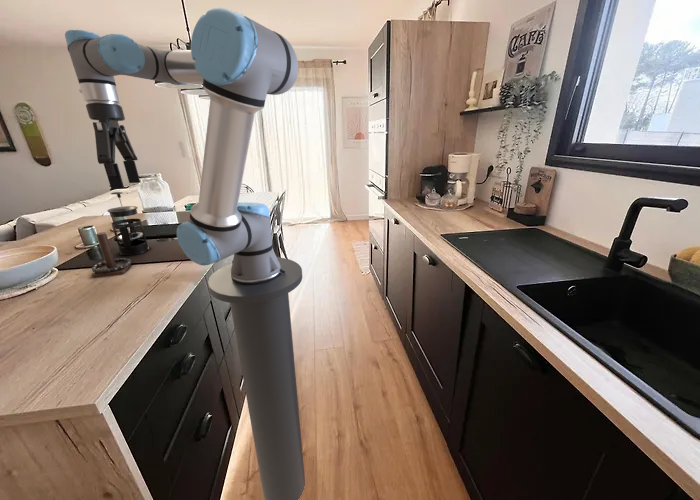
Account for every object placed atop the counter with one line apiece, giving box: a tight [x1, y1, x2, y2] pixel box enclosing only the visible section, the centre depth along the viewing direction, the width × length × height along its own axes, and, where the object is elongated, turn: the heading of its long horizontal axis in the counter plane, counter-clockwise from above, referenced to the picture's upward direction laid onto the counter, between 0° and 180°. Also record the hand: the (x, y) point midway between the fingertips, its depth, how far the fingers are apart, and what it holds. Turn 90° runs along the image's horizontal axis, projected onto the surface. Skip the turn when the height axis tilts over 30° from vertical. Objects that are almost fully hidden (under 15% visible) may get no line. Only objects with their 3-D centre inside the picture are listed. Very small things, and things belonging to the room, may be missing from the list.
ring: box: [91, 257, 133, 273], centre depth 95 cm, size 10×10×1 cm
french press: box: [106, 191, 150, 257], centre depth 107 cm, size 12×9×23 cm
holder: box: [91, 231, 132, 278], centre depth 93 cm, size 8×8×13 cm
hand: (127, 185), depth 83 cm, fingers open, 13 cm apart
